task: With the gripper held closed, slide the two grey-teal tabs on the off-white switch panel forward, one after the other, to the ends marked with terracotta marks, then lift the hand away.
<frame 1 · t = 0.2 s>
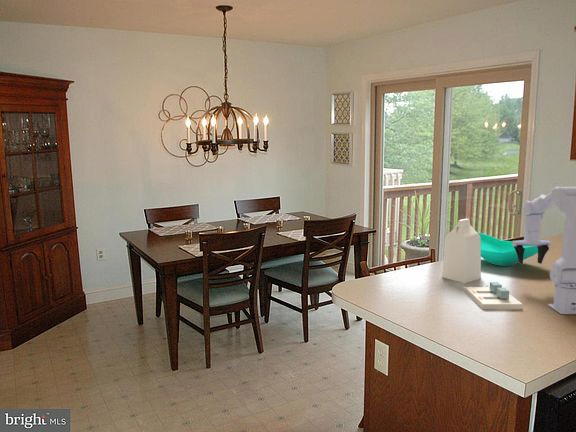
hand: (530, 263, 200), 10 cm above the kitchen counter, tool pointing down, fingers open, 7 cm apart
switch panel: (491, 300, 186), on the kitchen counter
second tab: (495, 287, 189), point 4 cm above the kitchen counter, slide at 0.0 cm
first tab: (502, 293, 182), point 4 cm above the kitchen counter, slide at 0.0 cm
milk: (461, 278, 216), on the kitchen counter
table top decor: (500, 264, 237), on the kitchen counter
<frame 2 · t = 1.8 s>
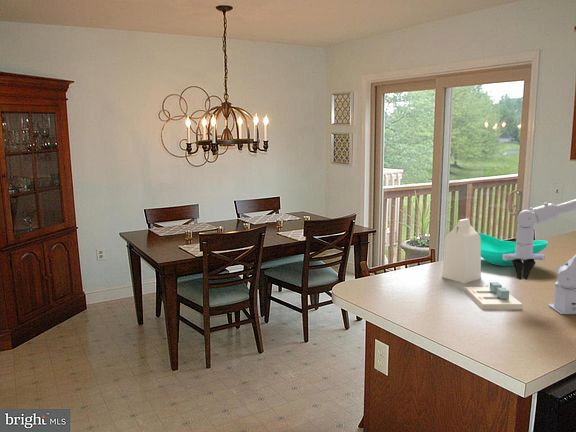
hand: (522, 278, 181), 9 cm above the kitchen counter, tool pointing down, fingers closed
nothing on the kitchen counter moved.
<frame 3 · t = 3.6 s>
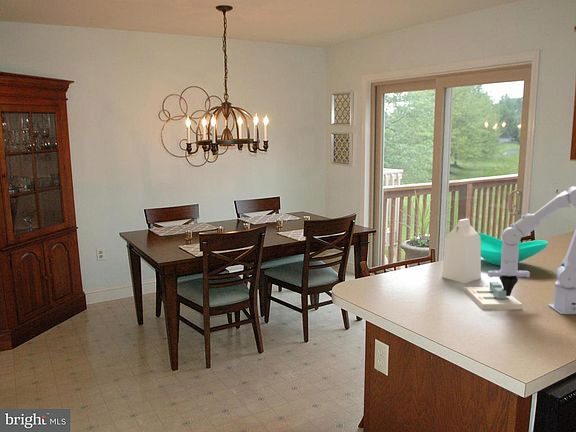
hand: (507, 295, 182), 3 cm above the kitchen counter, tool pointing down, fingers closed
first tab: (499, 293, 182), point 4 cm above the kitchen counter, slide at 1.1 cm, touching gripper
everything else where it was.
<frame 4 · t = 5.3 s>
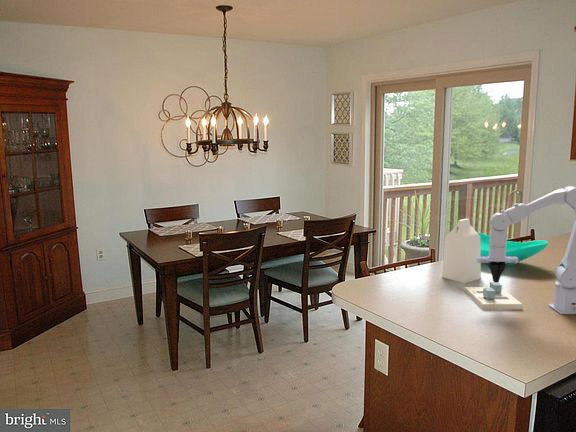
hand: (495, 281, 181), 8 cm above the kitchen counter, tool pointing down, fingers closed
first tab: (489, 293, 182), point 4 cm above the kitchen counter, slide at 5.1 cm
everything else where it was.
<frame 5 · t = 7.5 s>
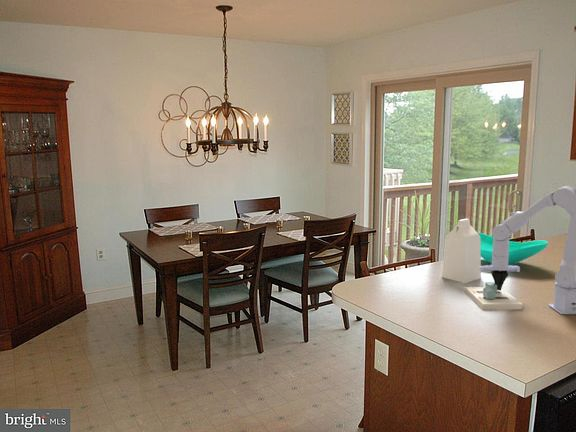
hand: (498, 289, 189), 3 cm above the kitchen counter, tool pointing down, fingers closed
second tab: (491, 287, 189), point 4 cm above the kitchen counter, slide at 1.7 cm, touching gripper
everything else where it was.
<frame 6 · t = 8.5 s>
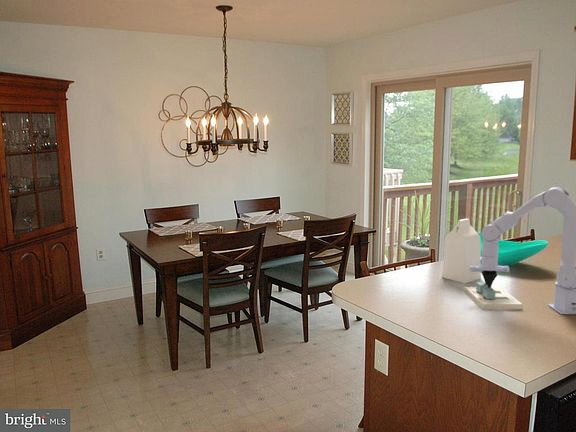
hand: (488, 289, 189), 3 cm above the kitchen counter, tool pointing down, fingers closed
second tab: (481, 287, 189), point 4 cm above the kitchen counter, slide at 5.2 cm, touching gripper
everything else where it was.
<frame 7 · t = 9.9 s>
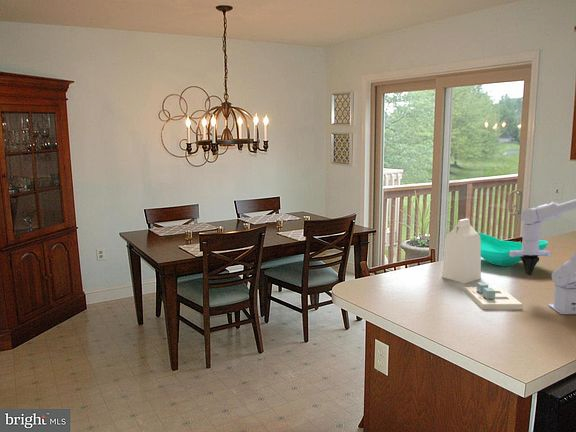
hand: (528, 274, 186), 9 cm above the kitchen counter, tool pointing down, fingers closed
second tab: (482, 287, 189), point 4 cm above the kitchen counter, slide at 5.1 cm
everything else where it was.
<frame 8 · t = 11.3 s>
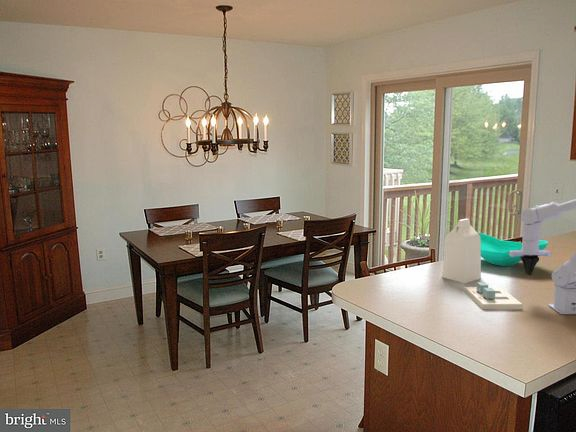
hand: (528, 274, 186), 9 cm above the kitchen counter, tool pointing down, fingers closed
nothing on the kitchen counter moved.
at the end: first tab slide at 5.1 cm; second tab slide at 5.1 cm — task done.
